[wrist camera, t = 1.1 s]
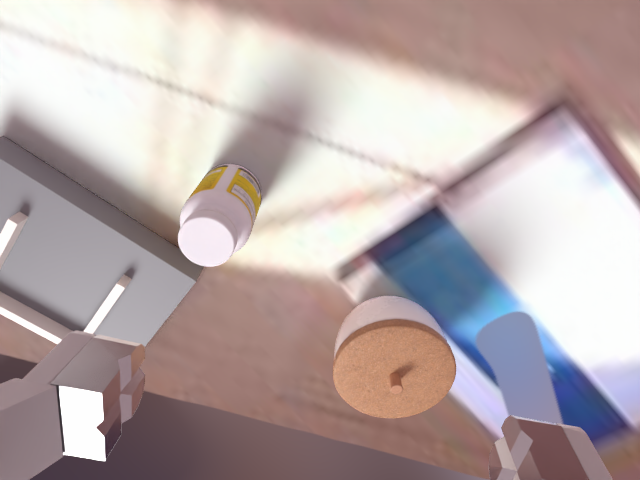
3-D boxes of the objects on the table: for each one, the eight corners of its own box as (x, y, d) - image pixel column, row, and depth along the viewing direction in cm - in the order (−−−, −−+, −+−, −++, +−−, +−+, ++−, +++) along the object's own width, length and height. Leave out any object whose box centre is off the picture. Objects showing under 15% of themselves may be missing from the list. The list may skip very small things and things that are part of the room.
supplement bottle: (199, 212, 41) (163, 266, 32) (206, 155, 38) (169, 197, 30) (257, 225, 41) (237, 282, 32) (268, 170, 39) (250, 215, 30)
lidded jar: (313, 302, 45) (310, 368, 37) (412, 259, 43) (432, 319, 34) (360, 374, 49) (366, 448, 41) (452, 339, 47) (479, 409, 38)
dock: (-53, 256, 43) (-92, 280, 39) (3, 135, 38) (-36, 150, 34) (132, 357, 49) (114, 388, 45) (204, 264, 43) (191, 290, 39)
